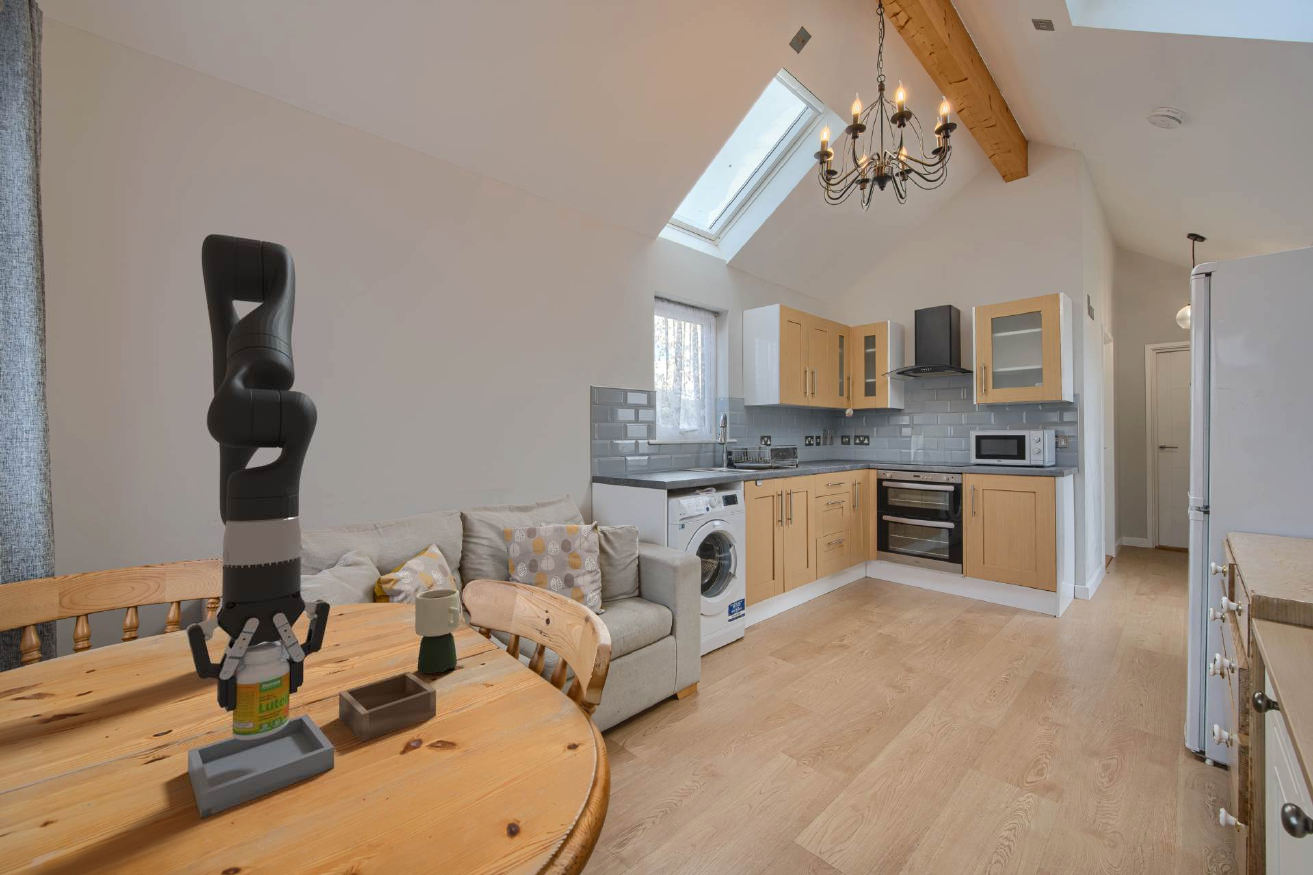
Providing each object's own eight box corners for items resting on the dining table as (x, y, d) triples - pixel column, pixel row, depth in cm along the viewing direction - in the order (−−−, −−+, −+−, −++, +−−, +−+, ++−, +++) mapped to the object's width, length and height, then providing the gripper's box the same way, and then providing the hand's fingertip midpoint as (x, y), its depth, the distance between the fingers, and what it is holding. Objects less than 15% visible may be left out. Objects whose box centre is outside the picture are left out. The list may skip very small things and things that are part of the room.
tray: (187, 771, 63) (188, 750, 63) (306, 732, 71) (307, 713, 71) (201, 818, 54) (201, 794, 55) (334, 767, 63) (334, 747, 63)
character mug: (475, 669, 92) (475, 593, 92) (439, 684, 86) (439, 603, 86) (435, 657, 98) (435, 585, 98) (399, 670, 92) (399, 594, 92)
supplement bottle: (259, 744, 60) (260, 656, 60) (220, 739, 61) (221, 653, 61) (300, 720, 65) (301, 639, 65) (263, 716, 66) (264, 637, 67)
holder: (339, 717, 75) (339, 692, 75) (408, 694, 82) (409, 671, 82) (362, 742, 69) (362, 714, 69) (436, 715, 76) (436, 690, 76)
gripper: (323, 545, 71) (321, 673, 71) (179, 561, 61) (177, 711, 61) (340, 551, 66) (339, 689, 66) (186, 570, 56) (184, 734, 55)
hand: (261, 699), depth 63 cm, fingers closed on supplement bottle, 5 cm apart
